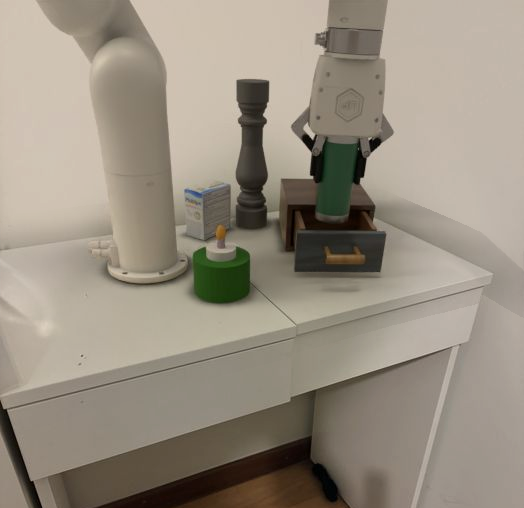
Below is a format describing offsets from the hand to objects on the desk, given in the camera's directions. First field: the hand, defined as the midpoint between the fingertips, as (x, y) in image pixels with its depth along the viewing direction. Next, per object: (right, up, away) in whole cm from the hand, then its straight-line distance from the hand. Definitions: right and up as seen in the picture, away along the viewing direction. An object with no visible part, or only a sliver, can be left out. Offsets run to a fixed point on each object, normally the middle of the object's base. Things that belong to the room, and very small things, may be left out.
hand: (336, 180), depth 79 cm
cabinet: (0, -4, +18) cm, 18 cm away
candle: (-17, -17, -2) cm, 25 cm away
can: (0, -5, +3) cm, 6 cm away
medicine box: (-21, -4, +18) cm, 28 cm away
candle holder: (-14, -1, +22) cm, 26 cm away
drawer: (0, -11, +6) cm, 13 cm away
